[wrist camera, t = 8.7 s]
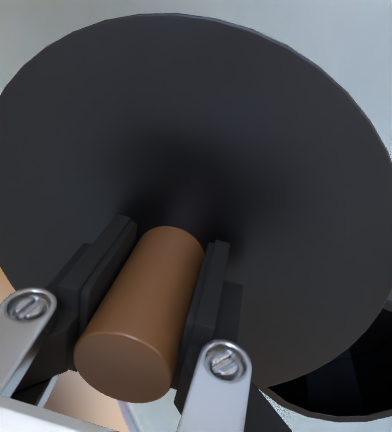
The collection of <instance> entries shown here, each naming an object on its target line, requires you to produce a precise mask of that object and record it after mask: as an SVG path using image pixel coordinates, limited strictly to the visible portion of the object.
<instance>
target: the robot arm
mask: <svg viewBox="0 0 392 432" xmlns="http://www.w3.org/2000/svg"><path fill="white" fill-rule="evenodd" d="M136 230H137V223H134V222H133V219H132V218H131V217H127V216H123V215H119V214H116V215H115V216H114V218H113V219H112V220H111V221H110V223H109V224H108V225H107V226H106V228H105V229H104V230H103V231H102V232H101V234H100V235H99V236H98V237H97V239H96V240H95V241H94V242H93V244H89V243H84V244H83V245H81V247H80V248H79V249H78V250H77V251H76V252H75V254H74V255H73V256H72V257H71V258H70V259H69V261H68V262H67V263H66V264H65V265H64V266H63V268H62V269H61V270H60V271H59V272H58V273H57V275H56V276H55V277H54V278H53V279H52V280H51V282H50V283H49V284H48V285H47V286H46V287H45V289H44V288H37V287H31V288H24V289H21V290H18V291H16V292H14V293H12V294H10V295H9V296H8V297H7V298H6V299H5V300H4V301H3V302H2V303H1V304H0V432H118V431H115V430H112V429H109V428H105V427H102V426H99V425H96V424H92V423H89V422H86V421H83V420H79V419H76V418H73V417H70V416H66V415H63V414H60V413H57V412H53V411H50V410H47V409H43V406H44V404H45V403H46V401H47V399H48V397H49V395H50V393H51V391H52V389H53V387H54V385H55V383H56V381H57V378H58V376H59V374H61V373H64V372H66V371H68V369H69V370H72V371H75V372H77V371H78V370H77V369H76V366H75V364H74V359H73V353H74V348H75V345H76V343H77V342H78V340H79V338H80V337H81V335H82V333H83V332H84V330H85V328H86V327H87V325H88V323H89V322H90V320H91V319H92V317H93V315H94V314H95V312H96V310H97V309H98V307H99V305H100V304H101V302H102V300H103V299H104V297H105V296H106V294H107V292H108V291H109V289H110V287H111V286H112V284H113V282H114V281H115V279H116V278H117V276H118V274H119V273H120V271H121V269H122V268H123V266H124V264H125V263H126V261H127V259H128V258H129V256H130V255H131V253H132V251H133V250H134V248H135V239H136ZM229 248H230V243H227V242H223V241H219V240H215V243H211V242H209V243H208V246H207V250H206V253H205V257H204V260H203V264H202V267H201V271H200V274H199V278H198V281H197V285H196V288H195V292H194V295H193V299H192V302H191V306H190V309H189V313H188V316H187V320H186V324H185V328H184V332H183V336H182V340H181V345H180V349H179V361H178V364H177V368H176V372H175V375H174V379H173V383H172V386H171V388H173V389H176V390H177V392H176V396H175V399H174V404H175V406H176V408H177V409H178V411H179V413H180V414H181V418H180V421H179V425H178V428H177V431H176V432H292V431H291V429H290V428H289V427H288V426H287V424H286V423H285V422H284V421H283V419H282V418H281V417H280V416H279V414H278V413H277V412H276V411H275V409H274V408H273V407H272V406H271V404H270V403H269V402H268V401H267V399H266V398H265V397H264V396H263V394H262V393H261V392H260V391H259V389H258V388H257V387H256V386H255V384H254V383H253V382H252V381H251V372H252V366H251V361H250V358H249V356H248V354H247V353H246V352H245V350H244V349H243V348H241V347H240V346H239V345H238V344H237V339H238V330H239V321H240V311H241V302H242V292H243V285H241V284H238V283H234V282H230V281H227V280H224V275H225V270H226V265H227V259H228V254H229Z"/></svg>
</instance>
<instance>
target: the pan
mask: <svg viewBox="0 0 392 432" xmlns="http://www.w3.org/2000/svg"><path fill="white" fill-rule="evenodd" d="M259 389H260V390H261V391H262V392H263V393H264V394H266V395H267V396H268V397H270V398H271V399H272V400H274V401H275V402H276V403H278V404H279V405H280V406H282V407H284V408H287V409H289V410H292V411H294V412H297V413H299V414H301V415H304V416H306V417H311V418H316V419H322V420H327V421H333V422H368V421H373V420H377V419H381V418H386V417H390V416H392V291H391V293H390V295H389V297H388V299H387V301H386V302H385V304H384V306H383V308H382V310H381V312H380V313H379V314H378V316H377V317H376V318H375V320H374V321H373V322H372V324H371V325H370V326H369V328H368V329H367V330H366V331H365V332H364V333H363V334H362V335H361V336H360V337H359V338H358V339H357V340H356V341H355V342H354V343H353V344H352V345H351V346H350V347H349V348H348V349H346V350H345V351H344V352H342V353H341V354H340V355H338V356H337V357H336V358H334V359H333V360H332V361H330V362H328V363H326V364H325V365H323V366H321V367H319V368H318V369H316V370H314V371H312V372H310V373H307V374H305V375H303V376H300V377H298V378H296V379H293V380H290V381H287V382H283V383H280V384H277V385H274V386H269V387H264V388H259Z"/></svg>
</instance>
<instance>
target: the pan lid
mask: <svg viewBox="0 0 392 432" xmlns="http://www.w3.org/2000/svg"><path fill="white" fill-rule="evenodd" d="M116 214H119V215H123V216H127V217H131V218H132V219H133V222H134V223H137V230H136V239H135V248H134V250H133V251H132V253H131V255H130V256H129V258H128V259H127V261H126V263H125V264H124V266H123V268H122V269H121V271H120V273H119V274H118V276H117V278H116V279H115V281H114V282H113V284H112V286H111V287H110V289H109V291H108V292H107V294H106V296H105V297H104V299H103V300H102V302H101V304H100V305H99V307H98V309H97V310H96V312H95V314H94V315H93V317H92V319H91V320H90V322H89V323H88V325H87V327H86V328H85V330H84V332H83V333H82V335H81V337H80V338H79V340H78V342H77V343H76V345H75V348H74V353H73V359H74V364H75V366H76V369H77V370H78V372H79V374H80V375H81V376H82V378H83V379H84V380H85V381H86V382H87V383H88V384H89V385H91V386H92V387H93V388H95V389H96V390H98V391H99V392H101V393H103V394H105V395H107V396H109V397H111V398H114V399H117V400H120V401H124V402H130V403H147V402H152V401H155V400H158V399H160V398H161V397H163V396H164V395H165V394H166V393H167V392H168V391H169V389H170V388H171V386H172V383H173V379H174V375H175V372H176V368H177V364H178V361H179V349H180V345H181V340H182V336H183V332H184V328H185V324H186V320H187V316H188V313H189V309H190V306H191V302H192V299H193V295H194V292H195V288H196V285H197V281H198V278H199V274H200V271H201V267H202V264H203V260H204V257H205V253H206V250H207V246H208V243H209V242H211V243H215V240H219V241H223V242H227V243H230V248H229V254H228V259H227V265H226V270H225V275H224V280H227V281H230V282H234V283H238V284H241V285H243V292H242V302H241V311H240V321H239V330H238V339H237V344H238V345H239V346H240V347H241V348H243V349H244V350H245V352H246V353H247V354H248V356H249V358H250V361H251V366H252V372H251V381H252V382H253V383H254V384H255V386H256V387H257V388H258V389H259V388H264V387H269V386H274V385H277V384H280V383H283V382H287V381H290V380H293V379H296V378H298V377H300V376H303V375H305V374H307V373H310V372H312V371H314V370H316V369H318V368H319V367H321V366H323V365H325V364H326V363H328V362H330V361H332V360H333V359H334V358H336V357H337V356H338V355H340V354H341V353H342V352H344V351H345V350H346V349H348V348H349V347H350V346H351V345H352V344H353V343H354V342H355V341H356V340H357V339H358V338H359V337H360V336H361V335H362V334H363V333H364V332H365V331H366V330H367V329H368V328H369V326H370V325H371V324H372V322H373V321H374V320H375V318H376V317H377V316H378V314H379V313H380V312H381V310H382V308H383V306H384V304H385V302H386V301H387V299H388V297H389V295H390V293H391V291H392V161H391V159H390V156H389V153H388V151H387V149H386V147H385V145H384V144H383V142H382V140H381V138H380V137H379V135H378V133H377V131H376V129H375V128H374V126H373V124H372V122H371V121H370V119H369V118H368V117H367V116H366V115H365V113H364V112H363V111H362V110H361V108H360V107H359V106H358V105H357V103H356V102H355V101H354V100H353V98H352V97H351V96H350V95H349V93H348V92H347V91H346V90H344V89H343V88H342V87H341V86H340V85H339V84H338V83H337V82H336V81H335V80H333V79H332V78H331V77H330V76H329V75H328V74H327V73H326V72H325V71H324V70H322V69H321V68H320V67H319V66H318V65H316V64H315V63H313V62H312V61H310V60H309V59H307V58H306V57H304V56H303V55H301V54H300V53H298V52H297V51H295V50H294V49H292V48H291V47H289V46H288V45H286V44H284V43H281V42H279V41H277V40H275V39H273V38H271V37H269V36H267V35H264V34H262V33H260V32H258V31H256V30H254V29H251V28H247V27H244V26H241V25H237V24H234V23H230V22H227V21H224V20H220V19H217V18H210V17H202V16H195V15H188V14H180V13H153V14H136V15H130V16H125V17H119V18H114V19H108V20H104V21H101V22H98V23H95V24H93V25H90V26H87V27H84V28H81V29H79V30H76V31H73V32H71V33H70V34H68V35H66V36H64V37H63V38H61V39H59V40H57V41H56V42H54V43H52V44H50V45H48V46H47V47H45V48H44V49H43V50H42V51H40V52H39V53H38V54H37V55H36V56H34V57H33V58H32V59H31V60H30V61H28V62H27V63H26V64H25V65H23V67H22V68H21V69H20V70H19V71H18V72H17V74H16V75H15V76H14V77H13V78H12V79H11V81H10V82H9V83H8V84H7V85H6V86H5V88H4V90H3V91H2V93H1V95H0V267H1V269H2V271H3V272H4V274H5V275H6V277H7V279H8V280H9V282H10V283H11V285H12V286H13V288H14V289H15V290H16V291H18V290H21V289H24V288H31V287H37V288H44V289H45V287H46V286H47V285H48V284H49V283H50V282H51V280H52V279H53V278H54V277H55V276H56V275H57V273H58V272H59V271H60V270H61V269H62V268H63V266H64V265H65V264H66V263H67V262H68V261H69V259H70V258H71V257H72V256H73V255H74V254H75V252H76V251H77V250H78V249H79V248H80V247H81V245H83V244H84V243H89V244H93V242H94V241H95V240H96V239H97V237H98V236H99V235H100V234H101V232H102V231H103V230H104V229H105V228H106V226H107V225H108V224H109V223H110V221H111V220H112V219H113V218H114V216H115V215H116Z"/></svg>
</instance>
